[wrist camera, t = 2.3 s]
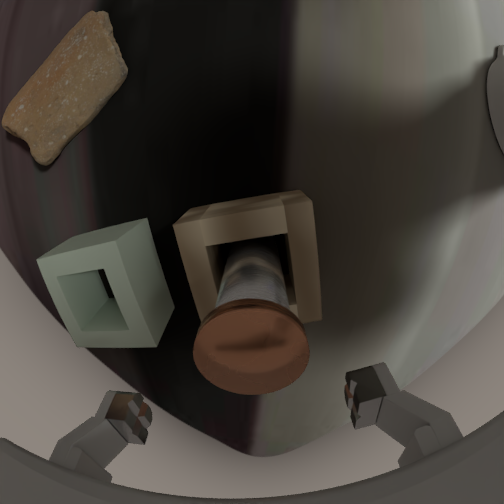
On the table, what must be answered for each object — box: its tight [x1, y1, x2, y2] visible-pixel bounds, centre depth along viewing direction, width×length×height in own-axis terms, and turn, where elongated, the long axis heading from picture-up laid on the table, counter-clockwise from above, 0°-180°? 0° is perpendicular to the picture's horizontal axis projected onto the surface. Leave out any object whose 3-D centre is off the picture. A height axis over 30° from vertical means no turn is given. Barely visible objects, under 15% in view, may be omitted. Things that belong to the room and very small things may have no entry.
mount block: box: [173, 190, 322, 324], centre depth 21 cm, size 9×9×5 cm
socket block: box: [37, 218, 175, 348], centre depth 21 cm, size 9×9×6 cm
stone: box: [2, 11, 128, 166], centre depth 16 cm, size 11×16×3 cm
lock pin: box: [193, 235, 310, 395], centre depth 17 cm, size 5×5×13 cm
